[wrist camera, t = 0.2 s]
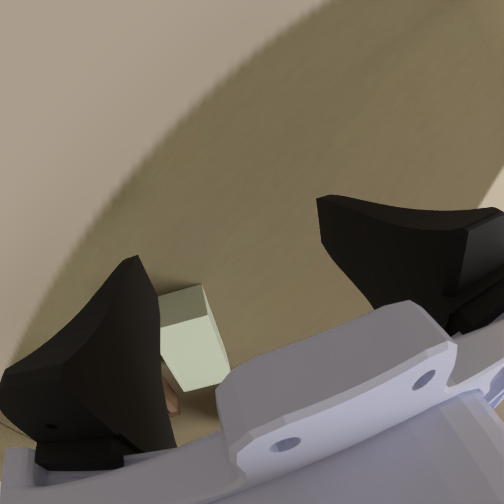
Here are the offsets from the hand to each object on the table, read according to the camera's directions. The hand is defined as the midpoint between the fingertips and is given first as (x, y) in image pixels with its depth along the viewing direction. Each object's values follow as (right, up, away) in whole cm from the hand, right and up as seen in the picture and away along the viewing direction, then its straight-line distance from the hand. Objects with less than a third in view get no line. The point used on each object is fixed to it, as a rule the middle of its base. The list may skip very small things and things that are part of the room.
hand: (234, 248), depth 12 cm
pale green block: (-5, -7, +14) cm, 16 cm away
